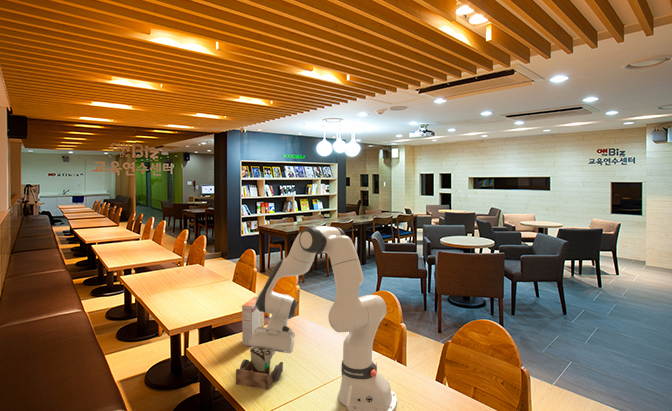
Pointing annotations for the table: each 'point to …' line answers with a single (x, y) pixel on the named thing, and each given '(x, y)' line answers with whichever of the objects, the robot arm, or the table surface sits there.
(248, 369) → the cart bed
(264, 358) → the food container
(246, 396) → the table surface
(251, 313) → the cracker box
